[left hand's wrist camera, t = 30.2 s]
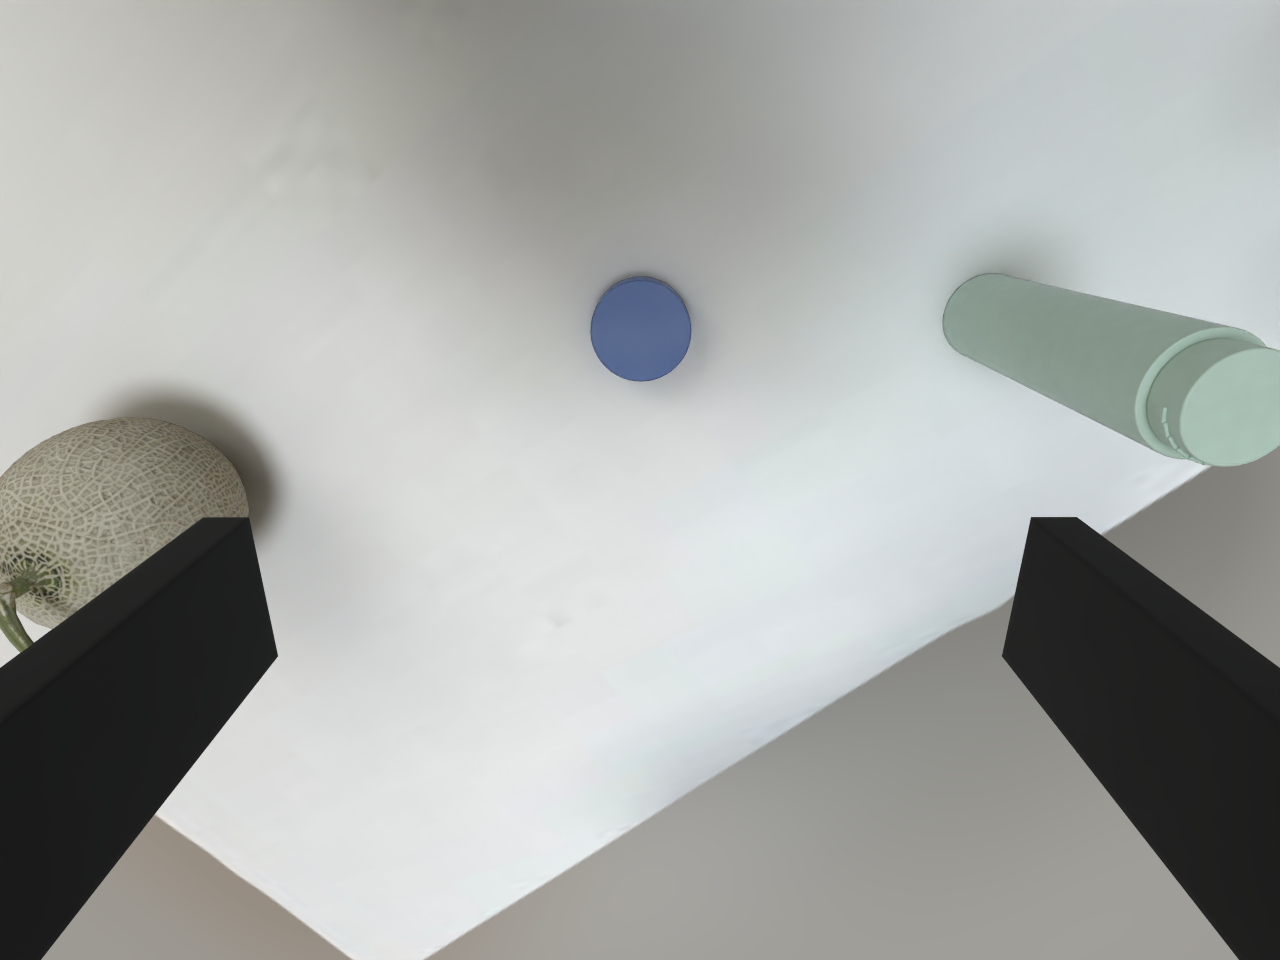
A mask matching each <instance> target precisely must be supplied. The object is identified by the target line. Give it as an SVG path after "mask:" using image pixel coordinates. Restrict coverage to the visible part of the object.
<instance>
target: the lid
mask: <svg viewBox="0 0 1280 960" xmlns="http://www.w3.org/2000/svg"><path fill="white" fill-rule="evenodd" d="M690 339H691V323H690V318H689V315H688V312H687V310H686V307H685V305H684V303H683V301H682V299H681V298H680V296H679V295H678V294H677V293H676V291H675V290H673V289H672V288H671V287H670V286H669V285H667V284H666V283H664V282H662V281H660V280H657V279H654V278H650V277H632V278H627V279H625V280H622V281H620V282H618V283H616V284H615V285H613V286H612V287H610V288H609V289H608V290H607V291H606V292H605V293H604V295H603V296H602V297H601V299H600V300H599V302H598V304H597V306H596V309H595V311H594V314H593V317H592V322H591V340H592V344H593V347H594V350H595V352H596V354H597V356H598V358H599V359H600V361H601V362H602V363H603V364H604V366H605V367H606V368H607V369H609V370H610V371H611V372H613V373H614V374H616V375H617V376H620V377H622V378H624V379H628V380H632V381H650V380H654V379H657V378H660V377H662V376H664V375H666V374H668V373H669V372H671V371H672V370H673V369H674V368H675V367H676V366H677V365H678V364H679V363H680V362H681V360H682V359H683V357H684V356H685V354H686V352H687V349H688V347H689V343H690Z"/></svg>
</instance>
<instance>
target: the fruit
mask: <svg viewBox="0 0 1280 960" xmlns="http://www.w3.org/2000/svg"><path fill="white" fill-rule="evenodd" d="M248 515H249V507H248V502H247V496H246V492H245V489H244V486H243V484H242V482H241V479H240V477H239V475H238V473H237V472H236V470H235V468H234V466H233V464H232V463H231V462H230V461H229V460H228V459H227V458H226V457H225V456H224V455H223V454H222V453H221V452H220V451H219V450H218V449H217V448H216V447H215V446H214V445H212V444H211V443H210V442H208V441H207V440H205V439H204V438H203V437H201V436H199V435H197V434H194V433H192V432H190V431H188V430H187V429H185V428H183V427H180V426H178V425H175V424H171V423H168V422H164V421H159V420H154V419H148V418H116V419H111V420H101V421H96V422H91V423H87V424H83V425H80V426H77V427H74V428H71V429H69V430H66V431H64V432H62V433H60V434H57V435H55V436H53V437H51V438H49V439H47V440H45V441H43V442H41V443H40V444H38V445H37V446H35V447H34V448H32V449H31V450H29V451H27V452H26V453H25V454H24V455H23V456H22V457H21V458H19V459H18V460H17V461H16V462H14V463H13V464H12V465H11V466H10V468H9V469H8V470H7V471H6V472H5V473H4V474H3V475H2V476H1V477H0V629H1V630H2V631H3V633H4V634H5V636H6V637H7V638H8V640H9V641H10V642H11V643H12V644H13V645H14V646H15V648H16V649H17V650H18V651H19V652H20V653H21V652H22V651H24V650H25V649H26V648H28V647H29V646H31V645H32V644H33V643H34V642H33V641H32V640H31V638H30V637H29V636H28V635H27V633H26V631H25V630H24V628H23V626H22V624H21V622H20V620H19V618H18V616H17V614H16V609H17V611H18V612H19V613H21V614H22V615H24V616H25V617H27V618H28V619H29V620H31V621H33V622H34V623H36V624H39V625H42V626H45V627H48V628H51V629H53V628H55V627H56V626H57V625H59V624H60V623H61V622H63V621H64V620H66V619H67V618H68V617H70V616H71V615H72V614H74V613H75V612H76V611H78V610H79V609H80V608H82V607H83V606H84V605H86V604H87V603H88V602H90V601H91V600H92V599H94V598H95V597H96V596H98V595H99V594H101V593H102V592H103V591H105V590H106V589H107V588H109V587H110V586H111V585H113V584H114V583H115V582H117V581H118V580H119V579H121V578H122V577H123V576H125V575H126V574H127V573H129V572H130V571H131V570H133V569H134V568H136V567H137V566H138V565H140V564H141V563H142V562H144V561H145V560H146V559H148V558H149V557H150V556H152V555H153V554H154V553H156V552H157V551H158V550H160V549H161V548H162V547H164V546H165V545H166V544H168V543H169V542H171V541H172V540H173V539H175V538H176V537H177V536H179V535H180V534H181V533H183V532H184V531H185V530H187V529H188V528H189V527H191V526H192V525H193V524H195V523H196V522H197V521H199V520H200V519H201V518H203V517H248Z"/></svg>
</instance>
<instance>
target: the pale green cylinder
mask: <svg viewBox="0 0 1280 960" xmlns="http://www.w3.org/2000/svg"><path fill="white" fill-rule="evenodd" d="M943 328H944V333H945V336H946V338H947V340H948V342H949V344H950V345H951V346H952V347H953V348H954V349H955V350H956V351H957V352H959V353H961V354H963V355H965V356H967V357H969V358H971V359H973V360H974V361H976V362H978V363H980V364H982V365H984V366H986V367H988V368H990V369H992V370H994V371H996V372H998V373H1000V374H1002V375H1004V376H1006V377H1008V378H1010V379H1012V380H1014V381H1016V382H1018V383H1020V384H1022V385H1024V386H1026V387H1028V388H1030V389H1032V390H1034V391H1036V392H1038V393H1040V394H1042V395H1044V396H1046V397H1048V398H1050V399H1052V400H1054V401H1056V402H1058V403H1060V404H1062V405H1064V406H1066V407H1068V408H1070V409H1072V410H1074V411H1076V412H1078V413H1080V414H1082V415H1084V416H1086V417H1088V418H1090V419H1092V420H1094V421H1096V422H1098V423H1100V424H1102V425H1104V426H1106V427H1108V428H1110V429H1112V430H1114V431H1116V432H1118V433H1120V434H1122V435H1124V436H1126V437H1128V438H1130V439H1132V440H1134V441H1136V442H1138V443H1140V444H1142V445H1144V446H1146V447H1148V448H1150V449H1152V450H1154V451H1156V452H1158V453H1160V454H1162V455H1165V456H1168V457H1171V458H1177V459H1188V460H1191V461H1194V462H1197V463H1200V464H1203V465H1213V466H1223V467H1224V466H1225V467H1229V466H1238V465H1242V464H1246V463H1249V462H1252V461H1255V460H1257V459H1259V458H1261V457H1263V456H1265V455H1267V454H1268V453H1270V452H1271V451H1273V450H1274V449H1276V448H1277V447H1278V446H1279V445H1280V351H1279V350H1276V349H1272V348H1268V347H1266V345H1265V344H1264V343H1263V342H1262V341H1261V340H1260V339H1259V338H1258V337H1256V336H1255V335H1253V334H1252V333H1249V332H1247V331H1245V330H1242V329H1239V328H1235V327H1230V326H1226V325H1221V324H1217V323H1213V322H1208V321H1204V320H1199V319H1195V318H1191V317H1186V316H1182V315H1177V314H1173V313H1168V312H1164V311H1160V310H1155V309H1151V308H1146V307H1142V306H1138V305H1133V304H1129V303H1124V302H1120V301H1116V300H1111V299H1107V298H1102V297H1098V296H1094V295H1089V294H1085V293H1080V292H1076V291H1071V290H1067V289H1063V288H1058V287H1054V286H1049V285H1045V284H1041V283H1036V282H1032V281H1027V280H1023V279H1019V278H1014V277H1010V276H1005V275H1001V274H984V275H980V276H977V277H974V278H972V279H970V280H968V281H967V282H965V283H964V284H963V285H961V286H960V287H959V288H958V289H957V290H956V291H955V292H954V294H953V295H952V297H951V298H950V300H949V302H948V304H947V306H946V309H945V312H944V318H943Z"/></svg>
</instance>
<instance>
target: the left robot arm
mask: <svg viewBox="0 0 1280 960" xmlns="http://www.w3.org/2000/svg"><path fill="white" fill-rule="evenodd" d="M277 657H278V654H277V649H276V644H275V640H274V635H273V630H272V625H271V621H270V616H269V611H268V606H267V601H266V597H265V592H264V587H263V582H262V578H261V573H260V568H259V563H258V558H257V554H256V549H255V544H254V539H253V535H252V530H251V525H250V520H249V517H203V518H201V519H200V520H199V521H197V522H196V523H195V524H193V525H192V526H191V527H189V528H188V529H187V530H185V531H184V532H183V533H181V534H180V535H179V536H177V537H176V538H175V539H173V540H172V541H171V542H169V543H168V544H166V545H165V546H164V547H162V548H161V549H160V550H158V551H157V552H156V553H154V554H153V555H152V556H150V557H149V558H148V559H146V560H145V561H144V562H142V563H141V564H140V565H138V566H137V567H136V568H134V569H133V570H131V571H130V572H129V573H127V574H126V575H125V576H123V577H122V578H121V579H119V580H118V581H117V582H115V583H114V584H113V585H111V586H110V587H109V588H107V589H106V590H105V591H103V592H102V593H101V594H99V595H98V596H96V597H95V598H94V599H92V600H91V601H90V602H88V603H87V604H86V605H84V606H83V607H82V608H80V609H79V610H78V611H76V612H75V613H74V614H72V615H71V616H70V617H68V618H67V619H66V620H64V621H63V622H61V623H60V624H59V625H57V626H56V627H55V628H53V629H52V630H51V631H49V632H48V633H47V634H45V635H44V636H43V637H41V638H40V639H39V640H37V641H36V642H35V643H33V644H32V645H31V646H29V647H28V648H26V649H25V650H24V651H22V652H21V653H20V654H18V655H17V656H16V657H14V658H13V659H12V660H10V661H9V662H8V663H6V664H5V665H4V666H2V667H1V668H0V960H41V959H42V958H43V956H44V955H45V954H46V953H47V951H48V950H49V949H50V947H51V946H52V945H53V944H54V942H55V941H56V940H57V938H58V937H59V936H60V935H61V933H62V932H63V931H64V930H65V928H66V927H67V926H68V924H69V923H70V922H71V921H72V919H73V918H74V917H75V915H76V914H77V913H78V912H79V910H80V909H81V908H82V906H83V905H84V904H85V903H86V901H87V900H88V899H89V898H90V896H91V895H92V894H93V892H94V891H95V890H96V889H97V887H98V886H99V885H100V883H101V882H102V881H103V880H104V878H105V877H106V876H107V874H108V873H109V872H110V871H111V869H112V868H113V867H114V866H115V864H116V863H117V862H118V860H119V859H120V858H121V857H122V855H123V854H124V853H125V851H126V850H127V849H128V848H129V846H130V845H131V844H132V842H133V841H134V840H135V839H136V837H137V836H138V835H139V834H140V832H141V831H142V830H143V828H144V827H145V826H146V825H147V823H148V822H149V821H150V819H151V818H152V817H153V816H154V814H155V813H156V812H157V810H158V809H159V808H160V807H161V805H162V804H163V803H164V801H165V800H166V799H167V798H168V796H169V795H170V794H171V793H172V791H173V790H174V789H175V787H176V786H177V785H178V784H179V782H180V781H181V780H182V778H183V777H184V776H185V775H186V773H187V772H188V771H189V769H190V768H191V767H192V766H193V764H194V763H195V762H196V761H197V759H198V758H199V757H200V755H201V754H202V753H203V752H204V750H205V749H206V748H207V746H208V745H209V744H210V743H211V741H212V740H213V739H214V737H215V736H216V735H217V734H218V732H219V731H220V730H221V729H222V727H223V726H224V725H225V723H226V722H227V721H228V720H229V718H230V717H231V716H232V714H233V713H234V712H235V711H236V709H237V708H238V707H239V705H240V704H241V703H242V702H243V700H244V699H245V698H246V697H247V695H248V694H249V693H250V691H251V690H252V689H253V688H254V686H255V685H256V684H257V682H258V681H259V680H260V679H261V677H262V676H263V675H264V673H265V672H266V671H267V670H268V668H269V667H270V666H271V665H272V663H273V662H274V661H275V659H276V658H277ZM1002 657H1003V658H1004V659H1005V661H1006V662H1007V663H1008V665H1009V666H1010V667H1011V668H1012V670H1013V671H1014V672H1015V673H1016V675H1017V676H1018V677H1019V679H1020V680H1021V681H1022V682H1023V684H1024V685H1025V686H1026V688H1027V689H1028V690H1029V691H1030V693H1031V694H1032V695H1033V696H1034V698H1035V699H1036V700H1037V702H1038V703H1039V704H1040V705H1041V707H1042V708H1043V709H1044V711H1045V712H1046V713H1047V714H1048V716H1049V717H1050V718H1051V720H1052V721H1053V722H1054V723H1055V725H1056V726H1057V727H1058V729H1059V730H1060V731H1061V732H1062V734H1063V735H1064V736H1065V737H1066V739H1067V740H1068V741H1069V743H1070V744H1071V745H1072V746H1073V748H1074V749H1075V750H1076V752H1077V753H1078V754H1079V755H1080V757H1081V758H1082V759H1083V760H1084V762H1085V763H1086V764H1087V766H1088V767H1089V768H1090V769H1091V771H1092V772H1093V773H1094V775H1095V776H1096V777H1097V778H1098V780H1099V781H1100V782H1101V784H1102V785H1103V786H1104V787H1105V789H1106V790H1107V791H1108V793H1109V794H1110V795H1111V796H1112V798H1113V799H1114V800H1115V801H1116V803H1117V804H1118V805H1119V807H1120V808H1121V809H1122V810H1123V812H1124V813H1125V814H1126V816H1127V817H1128V818H1129V819H1130V821H1131V822H1132V823H1133V824H1134V826H1135V827H1136V828H1137V830H1138V831H1139V832H1140V834H1141V835H1142V836H1143V837H1144V839H1145V840H1146V841H1147V842H1148V844H1149V845H1150V846H1151V848H1152V849H1153V850H1154V851H1155V853H1156V854H1157V855H1158V857H1159V858H1160V859H1161V860H1162V862H1163V863H1164V864H1165V865H1166V867H1167V868H1168V869H1169V871H1170V872H1171V873H1172V874H1173V876H1174V877H1175V878H1176V880H1177V881H1178V882H1179V883H1180V885H1181V886H1182V887H1183V889H1184V890H1185V891H1186V892H1187V894H1188V895H1189V896H1190V897H1191V899H1192V900H1193V901H1194V903H1195V904H1196V905H1197V906H1198V908H1199V909H1200V910H1201V912H1202V913H1203V914H1204V915H1205V917H1206V918H1207V919H1208V921H1209V922H1210V923H1211V924H1212V926H1213V927H1214V928H1215V930H1216V931H1217V932H1218V933H1219V935H1220V936H1221V937H1222V938H1223V940H1224V941H1225V942H1226V943H1227V945H1228V946H1229V947H1230V949H1231V950H1232V951H1233V953H1234V954H1235V955H1236V956H1237V958H1238V959H1239V960H1280V668H1279V667H1278V666H1276V665H1275V664H1274V663H1272V662H1271V661H1270V660H1268V659H1267V658H1266V657H1264V656H1263V655H1262V654H1260V653H1259V652H1258V651H1256V650H1255V649H1254V648H1252V647H1251V646H1249V645H1248V644H1247V643H1245V642H1244V641H1243V640H1241V639H1240V638H1239V637H1237V636H1236V635H1235V634H1233V633H1232V632H1231V631H1229V630H1228V629H1227V628H1225V627H1224V626H1223V625H1221V624H1220V623H1218V622H1217V621H1216V620H1214V619H1213V618H1212V617H1210V616H1209V615H1208V614H1206V613H1205V612H1204V611H1202V610H1201V609H1200V608H1198V607H1197V606H1196V605H1194V604H1193V603H1192V602H1190V601H1189V600H1188V599H1186V598H1185V597H1183V596H1182V595H1181V594H1179V593H1178V592H1177V591H1175V590H1174V589H1173V588H1171V587H1170V586H1169V585H1167V584H1166V583H1165V582H1163V581H1162V580H1161V579H1159V578H1158V577H1157V576H1155V575H1154V574H1153V573H1151V572H1150V571H1149V570H1147V569H1146V568H1144V567H1143V566H1142V565H1140V564H1139V563H1138V562H1136V561H1135V560H1134V559H1132V558H1131V557H1130V556H1128V555H1127V554H1126V553H1124V552H1123V551H1122V550H1120V549H1119V548H1118V547H1116V546H1115V545H1114V544H1112V543H1111V542H1109V541H1108V540H1107V539H1105V538H1104V537H1103V536H1101V535H1100V534H1099V533H1097V532H1096V531H1095V530H1093V529H1092V528H1091V527H1089V526H1088V525H1087V524H1085V523H1084V522H1083V521H1081V520H1080V519H1079V518H1077V517H1031V520H1030V525H1029V530H1028V535H1027V539H1026V544H1025V549H1024V554H1023V558H1022V563H1021V568H1020V573H1019V578H1018V582H1017V587H1016V592H1015V597H1014V602H1013V606H1012V611H1011V616H1010V621H1009V625H1008V630H1007V635H1006V640H1005V645H1004V649H1003V654H1002Z"/></svg>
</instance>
